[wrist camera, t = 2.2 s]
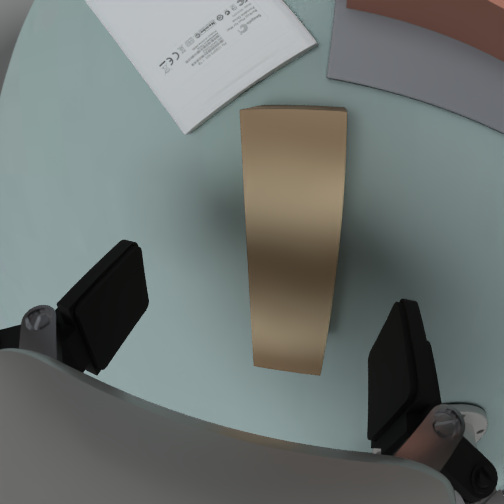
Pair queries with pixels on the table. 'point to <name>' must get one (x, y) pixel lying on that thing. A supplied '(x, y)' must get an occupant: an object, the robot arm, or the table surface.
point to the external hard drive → (203, 48)
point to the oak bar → (292, 228)
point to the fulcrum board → (425, 52)
